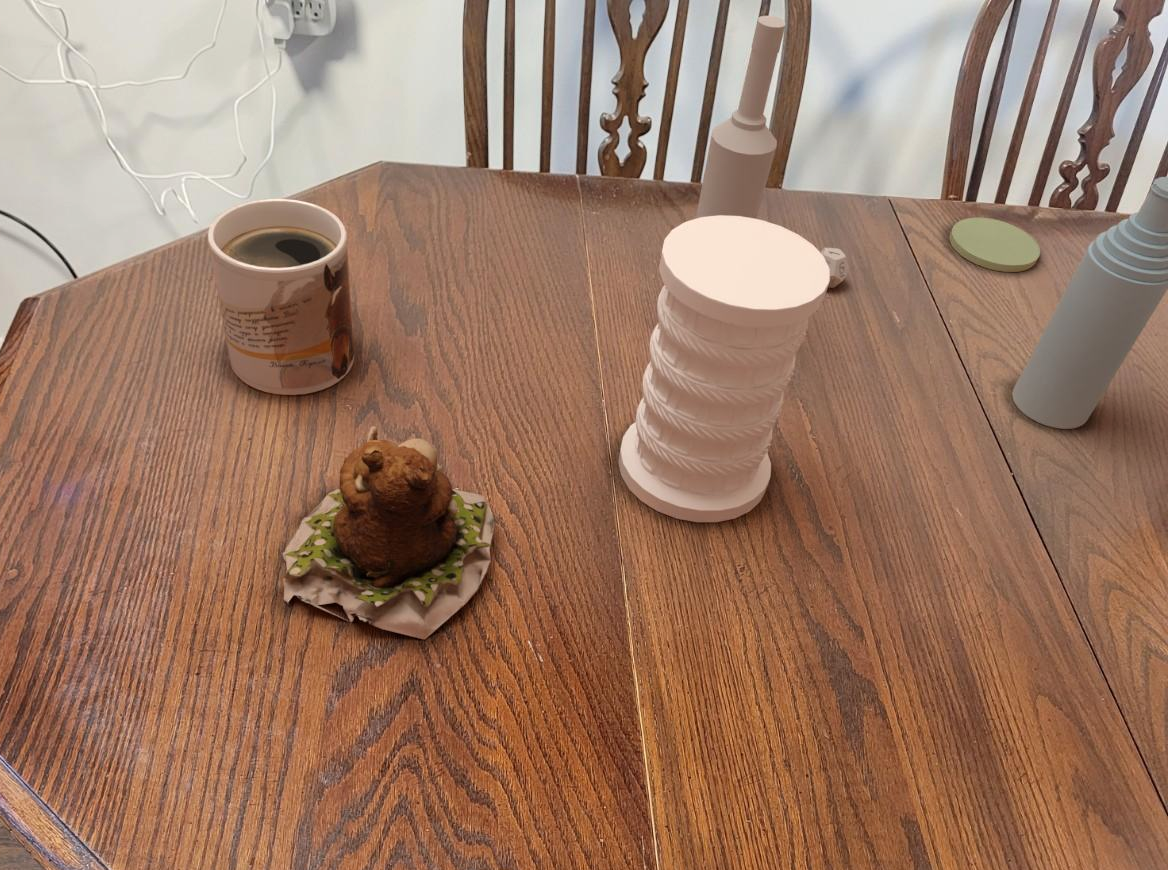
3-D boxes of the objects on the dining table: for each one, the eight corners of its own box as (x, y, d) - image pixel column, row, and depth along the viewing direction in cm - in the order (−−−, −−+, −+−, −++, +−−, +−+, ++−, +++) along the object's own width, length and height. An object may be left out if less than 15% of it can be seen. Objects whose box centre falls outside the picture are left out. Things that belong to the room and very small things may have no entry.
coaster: (1035, 236, 110) (1039, 229, 109) (1038, 280, 104) (1041, 273, 103) (950, 216, 110) (953, 209, 110) (947, 259, 105) (950, 252, 104)
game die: (841, 296, 98) (851, 268, 96) (803, 286, 99) (811, 257, 96) (846, 277, 100) (856, 249, 98) (809, 267, 101) (817, 239, 99)
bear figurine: (526, 511, 75) (540, 375, 66) (440, 663, 66) (442, 528, 57) (356, 455, 77) (346, 314, 68) (247, 594, 68) (219, 453, 59)
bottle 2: (1086, 391, 92) (1214, 174, 77) (1090, 437, 88) (1228, 217, 73) (1011, 373, 93) (1124, 155, 78) (1012, 418, 89) (1132, 196, 73)
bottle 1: (663, 307, 94) (722, 9, 75) (712, 298, 96) (782, 4, 77) (691, 340, 91) (760, 39, 72) (741, 330, 93) (821, 33, 74)
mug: (204, 339, 85) (179, 212, 76) (336, 298, 90) (327, 175, 82) (265, 411, 80) (245, 284, 71) (401, 363, 85) (397, 239, 77)
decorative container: (618, 515, 76) (658, 302, 63) (618, 413, 84) (654, 203, 70) (774, 529, 77) (848, 322, 63) (760, 427, 84) (823, 222, 71)
